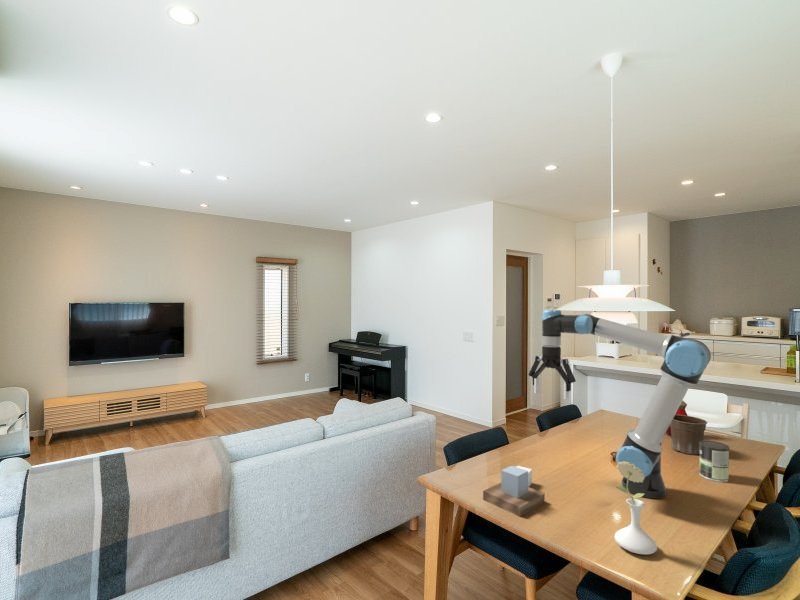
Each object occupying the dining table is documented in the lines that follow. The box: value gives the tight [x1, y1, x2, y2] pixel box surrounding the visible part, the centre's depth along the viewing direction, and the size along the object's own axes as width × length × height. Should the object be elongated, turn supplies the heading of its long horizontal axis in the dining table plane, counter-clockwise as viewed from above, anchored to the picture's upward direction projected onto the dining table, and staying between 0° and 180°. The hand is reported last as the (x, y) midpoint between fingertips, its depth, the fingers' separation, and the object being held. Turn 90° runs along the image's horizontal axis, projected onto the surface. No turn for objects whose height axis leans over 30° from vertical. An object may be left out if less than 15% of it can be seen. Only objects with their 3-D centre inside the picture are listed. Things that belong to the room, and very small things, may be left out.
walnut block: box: [482, 482, 546, 517], centre depth 155 cm, size 16×16×4 cm
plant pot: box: [670, 415, 708, 456], centre depth 209 cm, size 16×16×16 cm
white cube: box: [516, 465, 533, 487], centre depth 169 cm, size 6×6×6 cm
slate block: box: [500, 465, 528, 498], centre depth 155 cm, size 7×7×8 cm
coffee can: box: [698, 439, 730, 483], centre depth 177 cm, size 10×10×14 cm
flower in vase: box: [614, 461, 658, 556], centre depth 127 cm, size 13×11×25 cm
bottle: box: [665, 400, 689, 438], centre depth 232 cm, size 16×14×20 cm
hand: (551, 395), depth 176 cm, fingers open, 13 cm apart
